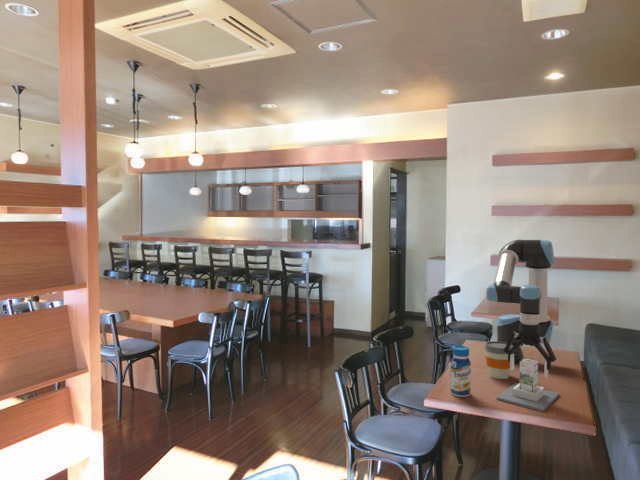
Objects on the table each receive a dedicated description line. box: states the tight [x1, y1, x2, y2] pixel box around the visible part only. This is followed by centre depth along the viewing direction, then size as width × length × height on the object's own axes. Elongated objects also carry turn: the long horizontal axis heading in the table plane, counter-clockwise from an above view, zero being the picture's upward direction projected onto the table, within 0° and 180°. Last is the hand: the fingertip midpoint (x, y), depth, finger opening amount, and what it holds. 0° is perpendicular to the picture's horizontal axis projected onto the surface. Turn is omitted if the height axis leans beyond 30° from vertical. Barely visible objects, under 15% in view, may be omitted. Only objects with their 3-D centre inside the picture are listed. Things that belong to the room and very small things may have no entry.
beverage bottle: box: [449, 345, 472, 398], centre depth 192 cm, size 8×8×20 cm
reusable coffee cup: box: [484, 340, 513, 380], centre depth 213 cm, size 13×12×15 cm
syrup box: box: [519, 358, 539, 393], centre depth 187 cm, size 6×6×14 cm
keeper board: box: [496, 382, 560, 413], centre depth 188 cm, size 22×18×4 cm
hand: (528, 373), depth 188 cm, fingers open, 13 cm apart
